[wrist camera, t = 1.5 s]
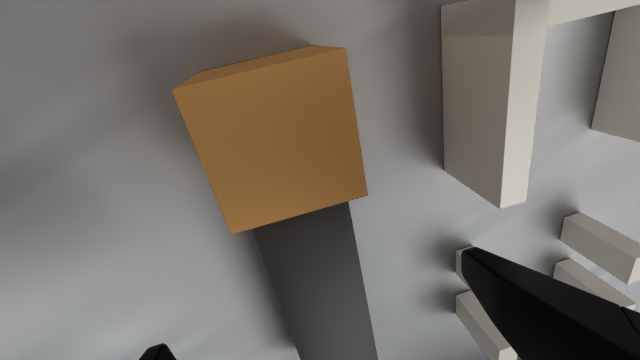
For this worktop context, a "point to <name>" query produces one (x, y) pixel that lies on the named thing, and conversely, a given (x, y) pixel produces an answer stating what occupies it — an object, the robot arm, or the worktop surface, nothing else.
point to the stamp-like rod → (290, 184)
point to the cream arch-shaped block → (522, 85)
